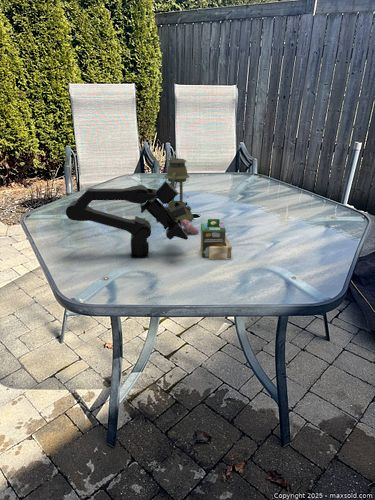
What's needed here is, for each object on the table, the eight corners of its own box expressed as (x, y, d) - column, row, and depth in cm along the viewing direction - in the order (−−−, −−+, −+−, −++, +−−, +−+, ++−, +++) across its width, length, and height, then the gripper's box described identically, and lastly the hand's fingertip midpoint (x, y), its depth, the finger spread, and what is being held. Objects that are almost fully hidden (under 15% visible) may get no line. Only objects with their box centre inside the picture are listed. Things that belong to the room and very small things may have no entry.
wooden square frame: (209, 259, 147) (209, 247, 145) (204, 245, 159) (204, 234, 157) (230, 259, 147) (231, 247, 146) (224, 245, 160) (224, 234, 158)
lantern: (189, 226, 182) (190, 163, 170) (154, 223, 185) (152, 161, 173) (196, 213, 200) (198, 156, 188) (164, 211, 203) (164, 154, 191)
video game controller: (184, 231, 180) (177, 219, 176) (192, 226, 180) (186, 214, 177) (191, 238, 171) (185, 226, 168) (200, 233, 172) (193, 221, 168)
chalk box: (222, 248, 157) (223, 214, 152) (225, 257, 149) (227, 221, 143) (199, 248, 157) (200, 214, 151) (201, 257, 149) (202, 221, 143)
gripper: (176, 204, 134) (205, 233, 140) (172, 191, 151) (199, 217, 157) (154, 225, 136) (183, 253, 142) (153, 210, 153) (179, 235, 159)
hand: (187, 238), depth 150 cm, fingers closed
